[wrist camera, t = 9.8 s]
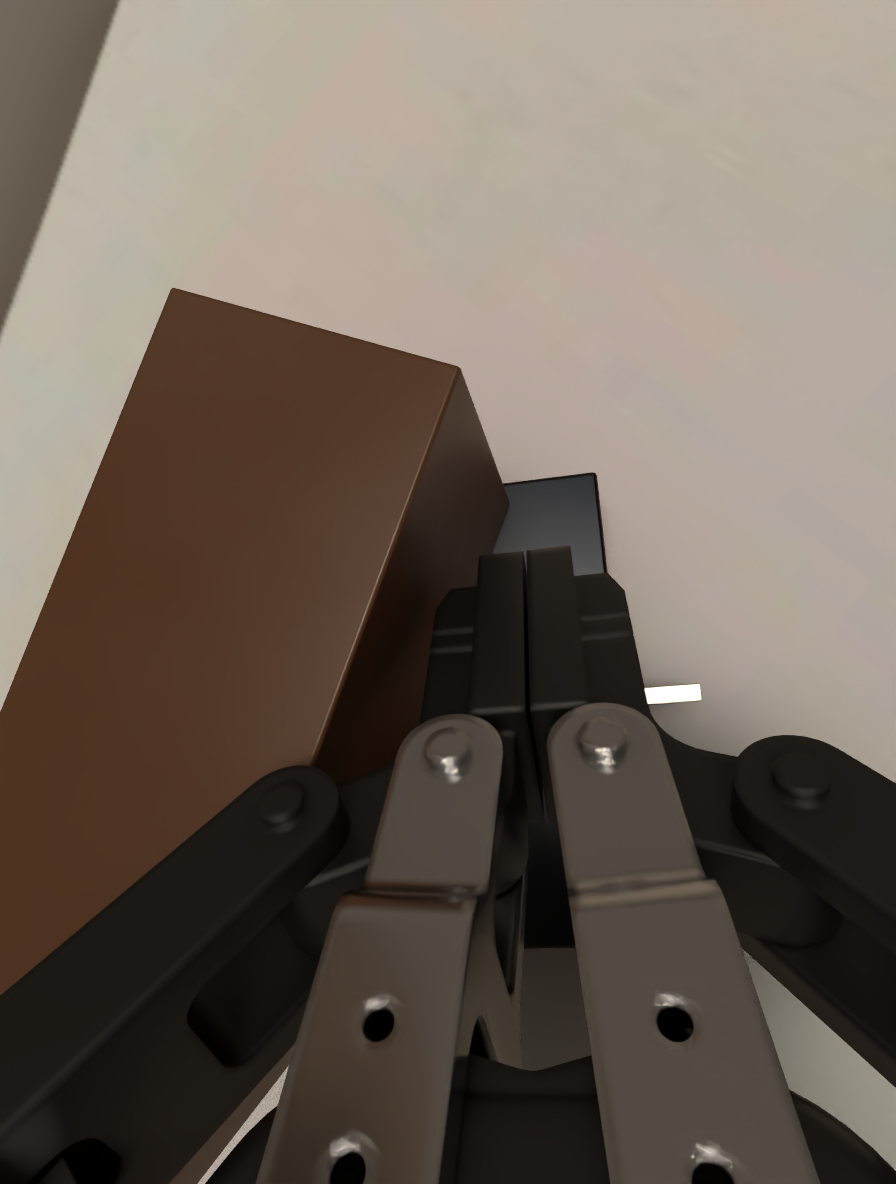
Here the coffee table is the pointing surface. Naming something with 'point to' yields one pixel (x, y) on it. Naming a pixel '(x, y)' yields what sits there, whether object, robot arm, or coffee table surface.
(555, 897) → the swivel stand
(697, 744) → the coffee table surface
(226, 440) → the box
